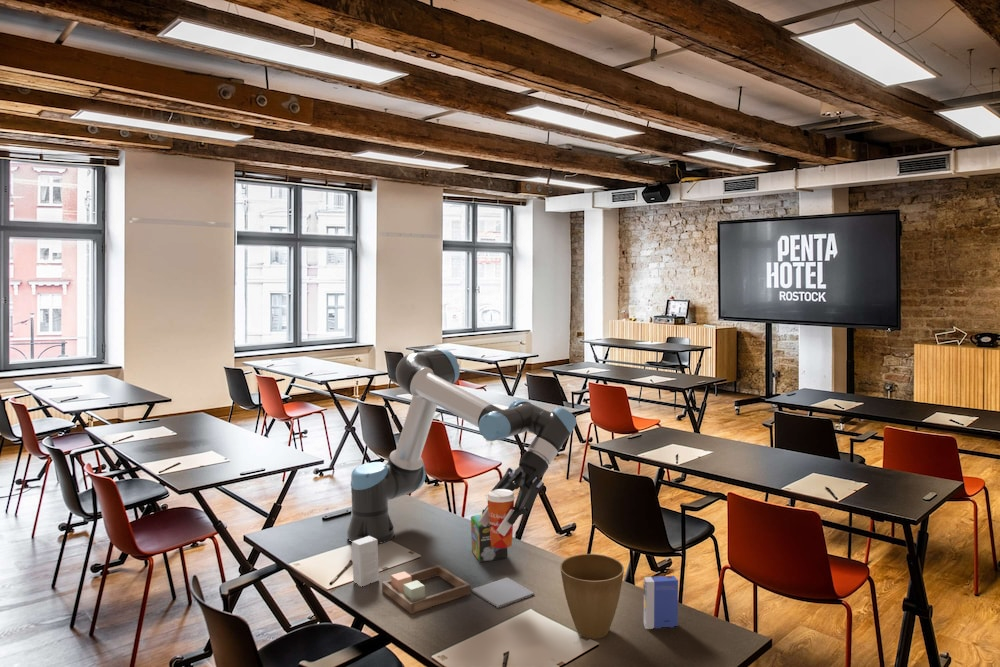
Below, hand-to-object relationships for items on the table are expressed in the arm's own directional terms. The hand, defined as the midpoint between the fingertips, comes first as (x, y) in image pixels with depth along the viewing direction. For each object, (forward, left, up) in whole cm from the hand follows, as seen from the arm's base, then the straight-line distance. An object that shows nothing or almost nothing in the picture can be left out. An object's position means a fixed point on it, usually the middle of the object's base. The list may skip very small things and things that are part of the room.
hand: (491, 528), depth 182 cm
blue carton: (+37, +23, -19) cm, 48 cm away
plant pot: (+29, +8, -19) cm, 36 cm away
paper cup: (0, +3, -5) cm, 6 cm away
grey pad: (0, +3, -19) cm, 19 cm away
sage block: (-9, -18, -19) cm, 28 cm away
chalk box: (-23, +15, -19) cm, 33 cm away
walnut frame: (-13, -13, -19) cm, 26 cm away
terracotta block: (-16, -18, -19) cm, 31 cm away
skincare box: (-29, -23, -19) cm, 41 cm away
